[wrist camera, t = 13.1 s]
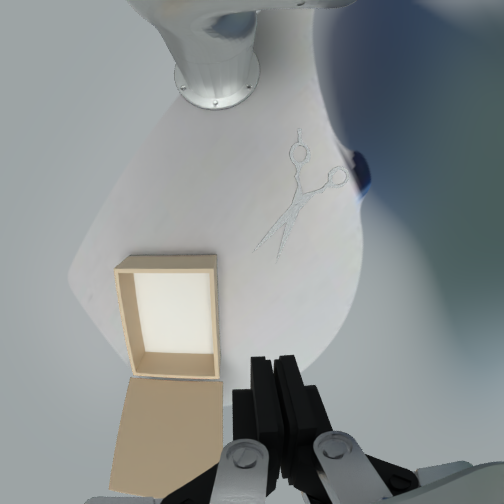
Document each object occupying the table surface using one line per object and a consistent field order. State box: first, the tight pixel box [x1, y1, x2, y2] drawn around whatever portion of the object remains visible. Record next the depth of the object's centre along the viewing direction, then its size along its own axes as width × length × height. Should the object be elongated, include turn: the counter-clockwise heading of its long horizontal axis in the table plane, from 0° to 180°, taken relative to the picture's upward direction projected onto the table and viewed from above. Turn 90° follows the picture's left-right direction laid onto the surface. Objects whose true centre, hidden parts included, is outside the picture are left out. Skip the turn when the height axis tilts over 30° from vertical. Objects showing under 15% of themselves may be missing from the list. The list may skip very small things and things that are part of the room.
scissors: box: [253, 128, 349, 263], centre depth 45 cm, size 11×1×20 cm
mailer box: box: [114, 255, 221, 379], centre depth 44 cm, size 18×14×7 cm
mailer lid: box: [109, 377, 223, 499], centre depth 35 cm, size 20×15×1 cm
